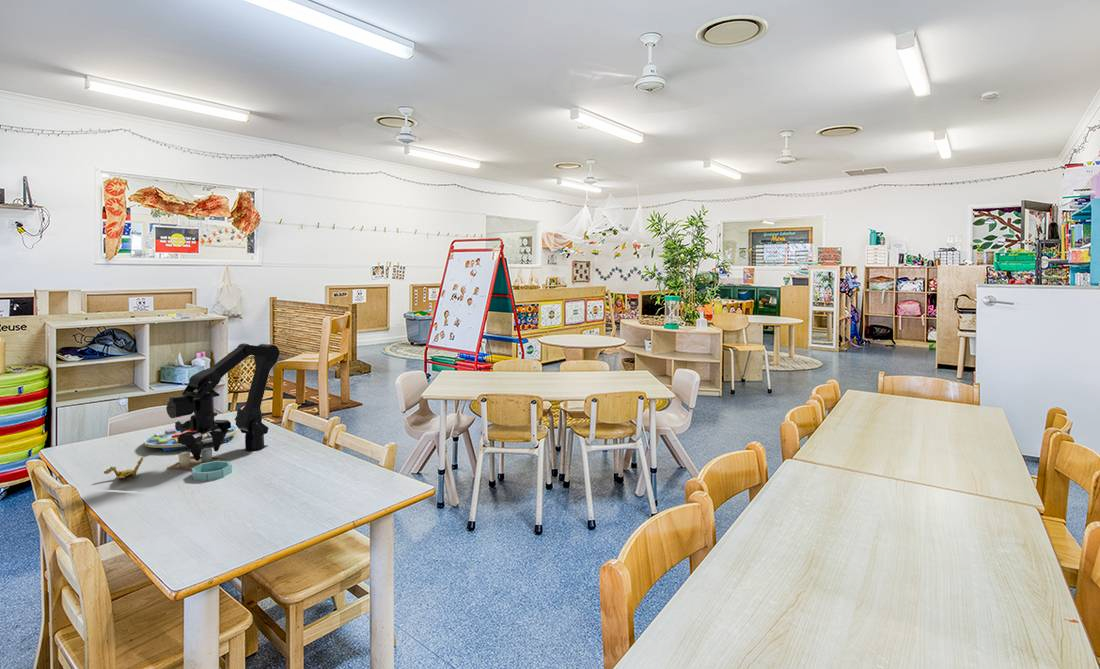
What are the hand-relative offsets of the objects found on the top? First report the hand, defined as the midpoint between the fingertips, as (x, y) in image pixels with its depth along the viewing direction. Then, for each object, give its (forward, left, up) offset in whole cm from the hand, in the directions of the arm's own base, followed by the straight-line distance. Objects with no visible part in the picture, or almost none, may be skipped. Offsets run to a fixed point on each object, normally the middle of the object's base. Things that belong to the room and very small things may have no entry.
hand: (207, 455), depth 192 cm
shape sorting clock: (-22, -22, -4) cm, 31 cm away
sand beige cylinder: (+5, -5, -2) cm, 7 cm away
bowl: (+10, +9, -3) cm, 13 cm away
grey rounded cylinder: (0, 0, -2) cm, 2 cm away
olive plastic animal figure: (+16, -15, -3) cm, 22 cm away
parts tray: (+2, -3, -3) cm, 4 cm away
